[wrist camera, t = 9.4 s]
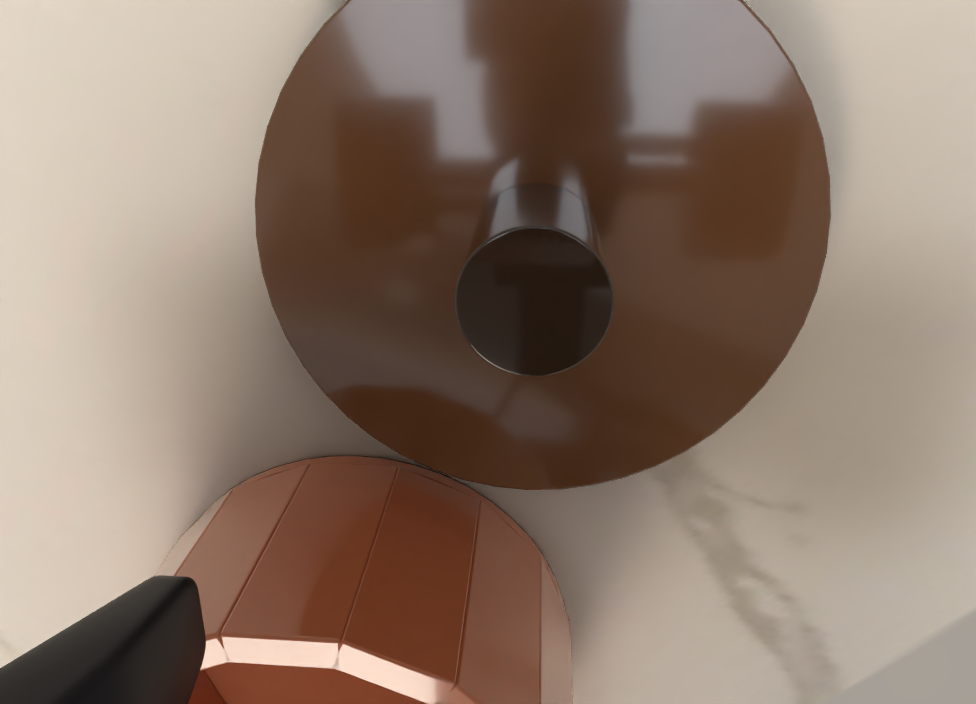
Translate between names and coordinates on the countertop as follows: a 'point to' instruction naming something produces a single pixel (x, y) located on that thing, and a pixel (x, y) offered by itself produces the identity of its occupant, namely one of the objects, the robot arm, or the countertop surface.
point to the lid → (542, 227)
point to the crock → (371, 592)
